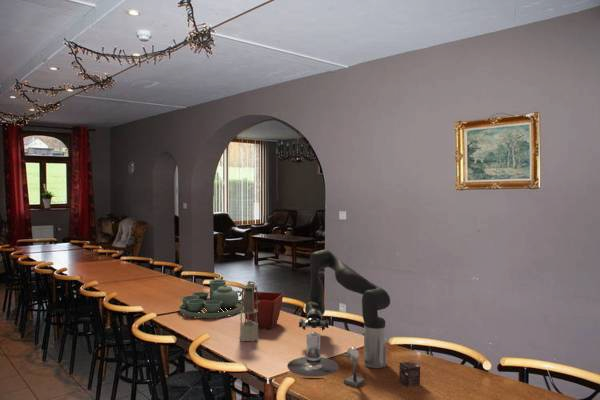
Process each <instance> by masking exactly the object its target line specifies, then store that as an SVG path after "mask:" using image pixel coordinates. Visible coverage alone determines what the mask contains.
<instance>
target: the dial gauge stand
mask: <svg viewBox="0 0 600 400" xmlns="http://www.w3.org/2000/svg"><path fill="white" fill-rule="evenodd" d="M341 357H344V358H348V359H349V360H350V361H352V375H350V376H349V377H347V378H344V380H343V384H345V385H348V386H351V387H354V388H359V387H360V386H362V385H365V383H366V378H364V377H360V376H357V366H358V365H357V363H358V362H357V361H358V359H359V358H360V351H359V350H358V349H357V348H356V347H355V346H354V347H353V346H352V347H350V348H348V349H347V351H346V353H341Z"/></svg>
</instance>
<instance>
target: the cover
mask: <svg viewBox="0 0 600 400" xmlns="http://www.w3.org/2000/svg"><path fill="white" fill-rule="evenodd" d="M305 357H306V360H307V361H309V362H318V361H320V360H321V357H322V356H321V334H320V333H318V332H316V331H311V332H308V333H307V334H306V355H305Z"/></svg>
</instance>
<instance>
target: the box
mask: <svg viewBox="0 0 600 400" xmlns="http://www.w3.org/2000/svg"><path fill="white" fill-rule="evenodd" d="M398 380H399V381H400V383H402V384H404V386H407V387H411V386H417V385H421V366H420V365H419V364H417V363H416V362H414V361H412V360H410V361H404V362H399V375H398Z"/></svg>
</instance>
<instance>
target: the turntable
mask: <svg viewBox="0 0 600 400" xmlns="http://www.w3.org/2000/svg"><path fill="white" fill-rule="evenodd" d="M339 367H340V366H339V364H338V362H337V361H335V360H333V359H330V358H327V357H324V356H321V360H320V361H318V362H309V361H307V360H306V356H302V357H301V356H300V357H298V358H293V359H292V360H289V362H288V363H287V369H288V370H289V371H290V372H291V373H293V374H295V375H299V376H304V377H302V379H303V380H323V379H326V378H325V377H324V378H323V376H329V375H331V374H334V373H336V372H337V371H338V370H339Z"/></svg>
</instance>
